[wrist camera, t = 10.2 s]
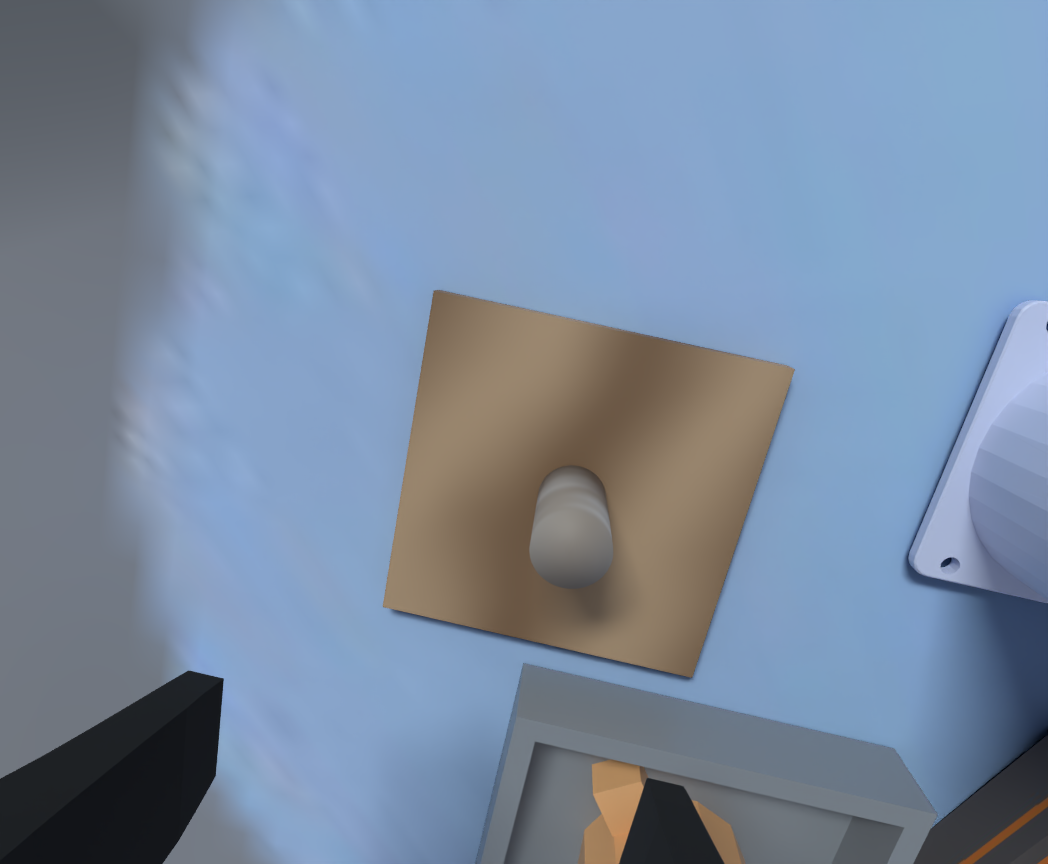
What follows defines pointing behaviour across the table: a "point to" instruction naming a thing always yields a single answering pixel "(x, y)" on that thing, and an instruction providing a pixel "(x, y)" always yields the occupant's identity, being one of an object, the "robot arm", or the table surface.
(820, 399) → the table surface
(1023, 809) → the electronic device
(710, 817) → the ring
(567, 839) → the tray
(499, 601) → the tan square plate
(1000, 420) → the robot arm
